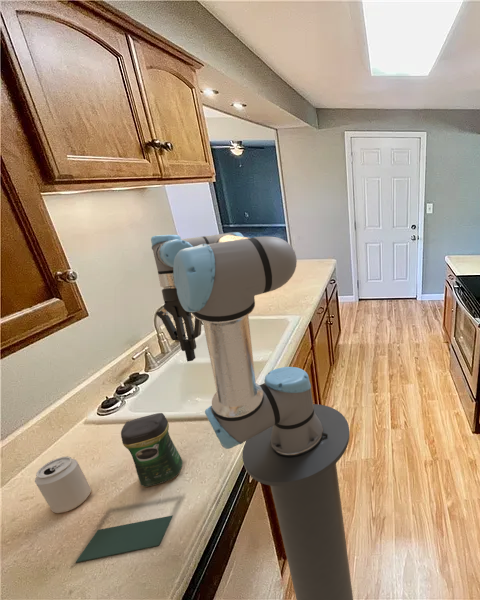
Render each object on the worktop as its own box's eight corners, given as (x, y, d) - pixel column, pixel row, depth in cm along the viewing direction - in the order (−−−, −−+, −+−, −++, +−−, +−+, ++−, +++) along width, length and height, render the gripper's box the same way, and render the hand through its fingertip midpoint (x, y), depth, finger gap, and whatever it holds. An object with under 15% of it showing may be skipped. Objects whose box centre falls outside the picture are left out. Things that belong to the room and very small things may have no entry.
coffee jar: (185, 457, 96) (167, 405, 89) (180, 478, 89) (161, 424, 82) (145, 469, 92) (123, 416, 86) (137, 492, 86) (113, 437, 79)
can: (46, 509, 82) (25, 473, 77) (82, 484, 88) (65, 450, 84) (62, 520, 79) (41, 483, 75) (98, 493, 85) (81, 458, 81)
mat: (181, 499, 84) (180, 496, 84) (159, 547, 73) (158, 544, 73) (110, 512, 81) (109, 509, 81) (77, 564, 70) (75, 562, 70)
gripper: (203, 282, 105) (217, 352, 109) (158, 287, 102) (173, 358, 107) (195, 285, 98) (209, 360, 102) (145, 290, 95) (162, 367, 99)
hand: (191, 359), depth 104 cm, fingers closed
